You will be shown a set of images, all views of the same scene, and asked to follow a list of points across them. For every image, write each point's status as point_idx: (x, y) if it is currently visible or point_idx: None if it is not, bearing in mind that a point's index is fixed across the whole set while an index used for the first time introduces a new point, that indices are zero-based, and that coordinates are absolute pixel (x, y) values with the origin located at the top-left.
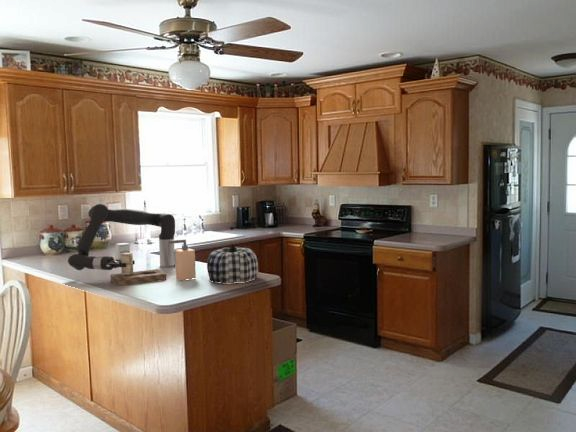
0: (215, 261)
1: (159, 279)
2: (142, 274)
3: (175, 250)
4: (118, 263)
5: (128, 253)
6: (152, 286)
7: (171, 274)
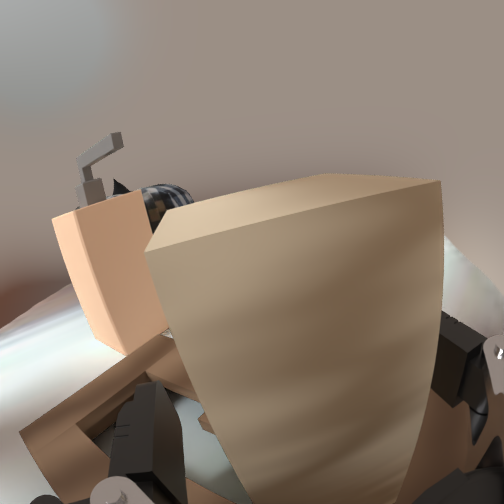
0: (183, 201)
1: None
2: None
3: (80, 212)
4: (498, 339)
5: (237, 198)
6: None
7: (38, 409)
